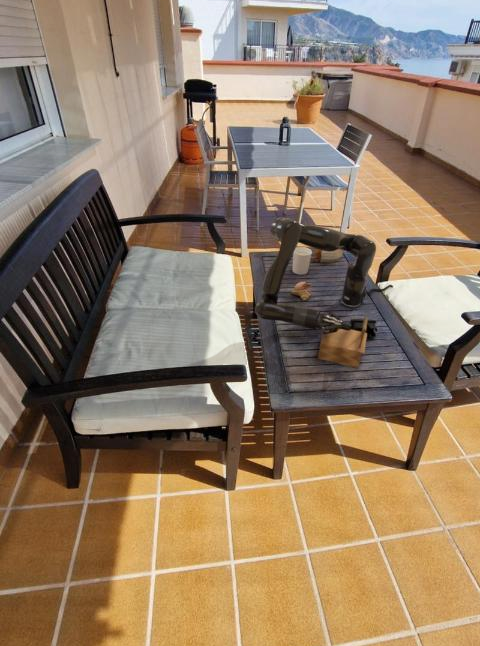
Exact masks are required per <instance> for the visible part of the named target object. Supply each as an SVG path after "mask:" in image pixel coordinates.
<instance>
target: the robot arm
mask: <svg viewBox="0 0 480 646" xmlns="http://www.w3.org/2000/svg"><path fill="white" fill-rule="evenodd" d="M269 232H270V235H271V236H272V238H273V239H274V240H276V241H277V242H279V243H280V245H279V249H278V253H277V255H276V256H275V258H274V260H273V261H272V262H271V264H270V265H269V266H268V269H267V270H266V272H265V276H264V279H263V283H262V287H261V291H262V294H261V298H260V301H259V302H257V303H256V305H255V307H254V313H255V315H256V316H257V317H258V318H260V319H262V320H266V321H267V320H268V321H277V322H279V321H280V322H284V323H287V324H292V325H295V326H298V327H302V328H307V329H311V330H316V329H319V330H322V331H323V332H322V335H323V334H329V333H334V332H337V331H338V330H339V329H343V330H348V331H350V328H351V324H350V322H349V323H348V322H344V321H342V320H341V317H340V316H338V314H336V313H335V312H333V311H332V310H329V311H328V313H321V312H320V310H318V309H313V308H310V307H304V306H299V305H297V306H296V305H292V304H286V303H284V304H278V300H279V293H280V291H281V288H282V284H283V280H284V277H285V274H286V271H287V269H288V266H289V265H290V262H291V259H292V258H293V253H294V251H295V248H296V247H298V244H302V245H304V246H307V247H309V248H312V249H314V250H323V251H329V252H332V251H336V250H338V249H340V250H341V251H345V252H347V253H349V254H351V255H353V256H354V257H355V258H356V261H355V260H354V261H351V262H349V263H348V264H347V269H346V273H345V274H346V275H345V278H344V284H343V287H342V293H341V297H340V303H341V304H342V305H343V306H344V307H347V308H350V309H352V308H353V309H354V308H355V309H357V308H359V307H360V306H361V305H362V304H363V302H364V298H366V297H367V296H371V294H372V292H373V291H376V292H384V291H386V290H388V289H389V288H394V285H392V284H388V285H387V286H385V287H383V288H371V289H369V291H366V289H367V286H366V283H367V278H368V274H369V271H370V269H371V268H372V265H373V262H374V259H375V255H376V253H377V245H376V243H375V242H374V241H373V240H371V239H369V238H368V237H366V236H364V235H362V234H354V233H345V232H342V231H339V230H337V229H333V228H329V227H325V226H318V225H309V224H304V223H299V222H298V221H296V220H294V219H291V218H288V217H278V218H276V219H275V220H274V221H272V223H271V224H270V227H269Z"/></svg>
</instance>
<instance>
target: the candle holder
mask: <svg viewBox="0 0 480 646" xmlns="http://www.w3.org/2000/svg"><path fill="white" fill-rule="evenodd" d="M311 250H312V249H310V247H309V248H308V247H305V246H296V248H295V251H294V253H293V255H292V266H291V268H292V269H291V270H292V273H294V274H295V275H299V276H303V275H306V274H307V273H308V272H309V268H310V263H311V260H312V257H311V256H312V255H313V252H312V251H311ZM310 259H311V260H310Z"/></svg>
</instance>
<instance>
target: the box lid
mask: <svg viewBox="0 0 480 646" xmlns="http://www.w3.org/2000/svg"><path fill="white" fill-rule="evenodd" d="M363 319H364V321H363V328H362V332H360V331H355V330H351V329H350V331H348V330H343V329H339V330H338V331H337V332H334V333H329V334H323V333H322V337H321V341H320V344H322V345H326V346H330V347H334V348H339V349H343V350H347V351H351V352H356V353H360V354H362V355H365V351H366V344H367V339H366V338H367V333H365V332H366V328H367V321H368V319H369V318H368V317H367V316H365V317H363Z"/></svg>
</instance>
